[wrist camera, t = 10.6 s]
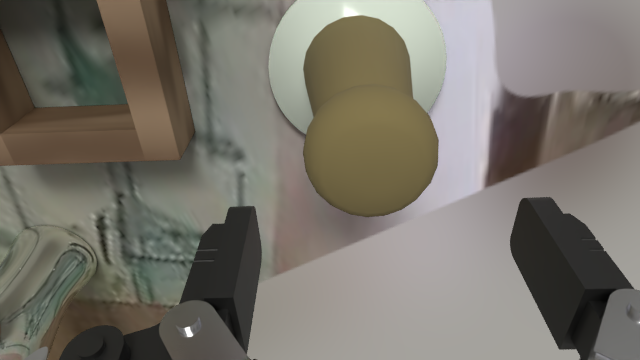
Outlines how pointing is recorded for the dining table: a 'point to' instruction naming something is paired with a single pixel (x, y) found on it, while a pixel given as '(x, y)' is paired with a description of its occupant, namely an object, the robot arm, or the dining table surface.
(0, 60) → the frame
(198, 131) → the dining table surface
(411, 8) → the coaster
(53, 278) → the beer glass
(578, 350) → the robot arm
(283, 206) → the dining table surface
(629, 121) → the dining table surface
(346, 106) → the olive pawn
